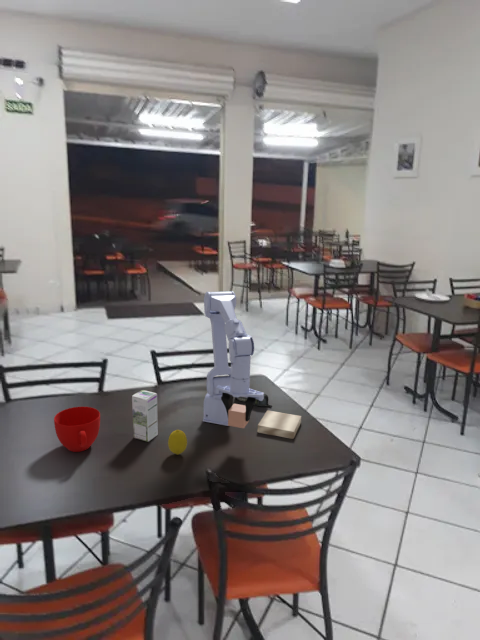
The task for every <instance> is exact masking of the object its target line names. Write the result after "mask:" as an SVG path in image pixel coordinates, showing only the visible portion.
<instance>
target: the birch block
mask: <svg viewBox="0 0 480 640" xmlns="http://www.w3.org/2000/svg"><path fill="white" fill-rule="evenodd" d="M301 424H302V415H297V414H290V413H284V412H279V411H273V410H269V409H267V410H266V412H265V413H264V415H263V416H262V418H261V419H260V420H259V422H258V424H257V433H259V434H265V435H269V436H275V437H276V436H277V437H282V438H287V439H290V440H294V438H295V437H296V434H297V433H298V431H299V428H300V426H301Z"/></svg>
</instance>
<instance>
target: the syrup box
mask: <svg viewBox="0 0 480 640" xmlns="http://www.w3.org/2000/svg"><path fill="white" fill-rule="evenodd" d="M131 396H132V397H131V402H132V403H131V404H132V407H131V408H132V431H133V433H132V435H133V438H134V439H137V440H140V441H142V442H143V441H144V442H148V443H149V442H150V441H151V440H153V439H155V437H157V436H158V434H159V431H158V430H159V428H158V427H159V425H158V393H156V392H152V391H148V390H146V389H145V390H144V389H142V390H140V391H138V392H136V393H134V394H133V395H131Z"/></svg>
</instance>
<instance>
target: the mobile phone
mask: <svg viewBox="0 0 480 640" xmlns="http://www.w3.org/2000/svg"><path fill="white" fill-rule="evenodd" d="M234 399H235V400H236V399H237V401H241V402H244V403H245V401H246V400H247V399H248V398H246V397H234ZM254 406H257V407H269V408H272V407H273V405H271V404H269V396H268V395H267V394H266V393H264V399H263V400H262V401H259V400H258V399H257V400H256V402H255V404H254Z"/></svg>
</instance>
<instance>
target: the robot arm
mask: <svg viewBox="0 0 480 640" xmlns="http://www.w3.org/2000/svg"><path fill="white" fill-rule="evenodd" d="M203 304H204V305H203V308H204V314H205V317H206V318H208V319H209V320H210V325H211V338H212V351H213V352H212V353H213V365H214V366H213V368H211V370H209V371H208V372H207V374H206V392H207V393H205V396H204V399H203V419H202V422H206V423H211V424H216V425H220V426H226V427H229V426H228V410H229V409H230V408H231V407H232V405H233V404H234V398H235V397H246V398H248V399H247V400H246V401H245V402H244V405H245V406H246V417H245V419H246V421H249V422H250V418H251V414H252V411H253V408H254V406H255V405H254V404H255V402H256V400H257V399H258V400H259V401H262V400H263V399H264V394H265V392H262V391H258V390H255V389H253V388H251V387H250V386H251V385H250V383H251V359H252V358H251V356H253V355H254V353H255V343H254V342H255V341H254V339H253V336H252V335H250V334H249V333H247V332H246V330H245V327H244V324H243V322H242V321H241V320H240V319H237V315H236V311H235V310H236V306H237V295H236V293H235V292H234V291H233V290H230V291H226V290H225V291H206V292H205V293H204V297H203ZM227 341H228V345H227ZM228 352H229V355H228ZM228 356H229V357H228ZM229 361H230V366H229ZM226 375H227V376H226Z"/></svg>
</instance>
